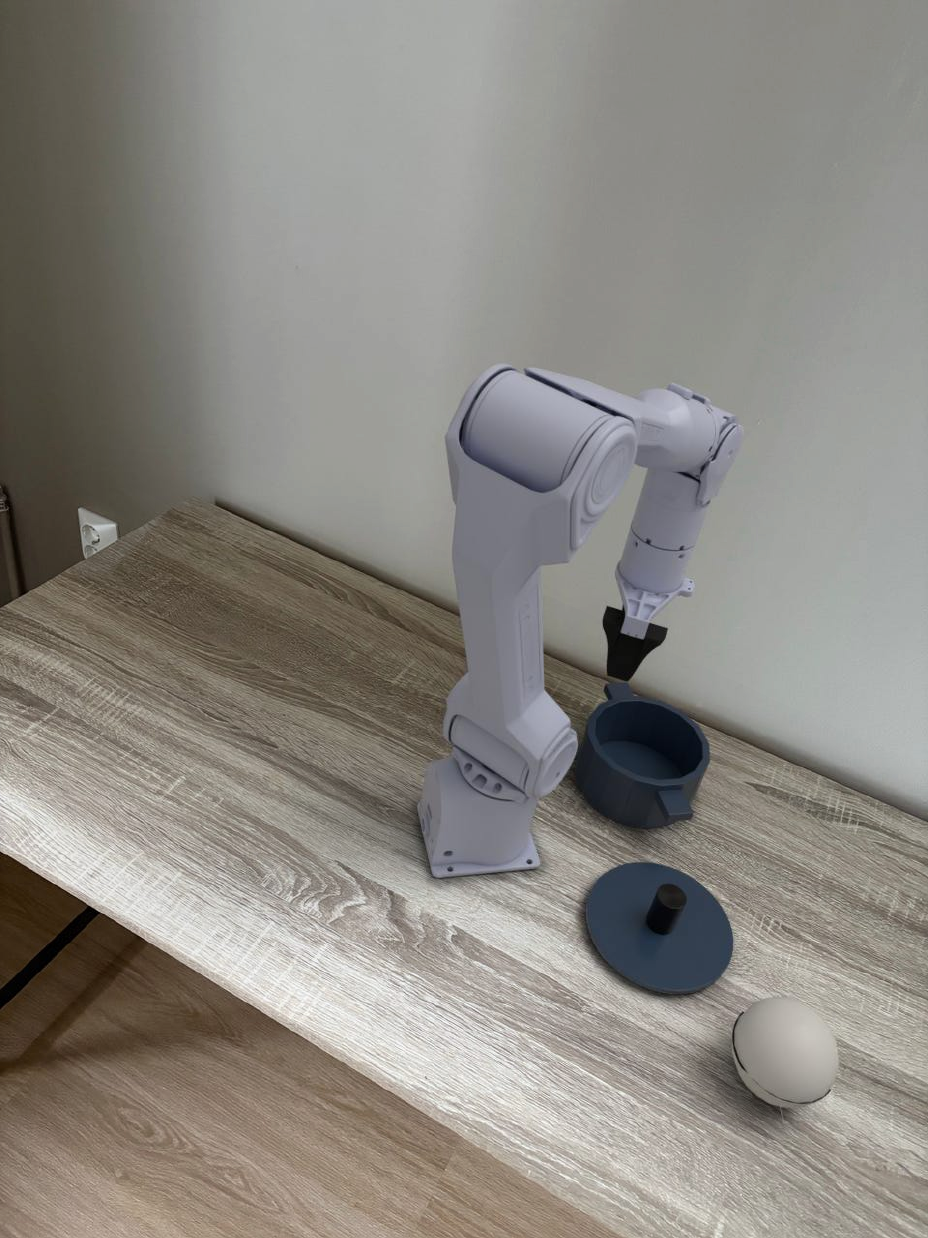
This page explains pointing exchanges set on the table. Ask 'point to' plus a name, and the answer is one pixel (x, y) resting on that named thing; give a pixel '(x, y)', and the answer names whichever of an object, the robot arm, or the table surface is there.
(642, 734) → the pot
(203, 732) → the table surface
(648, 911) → the lid
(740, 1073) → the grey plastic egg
